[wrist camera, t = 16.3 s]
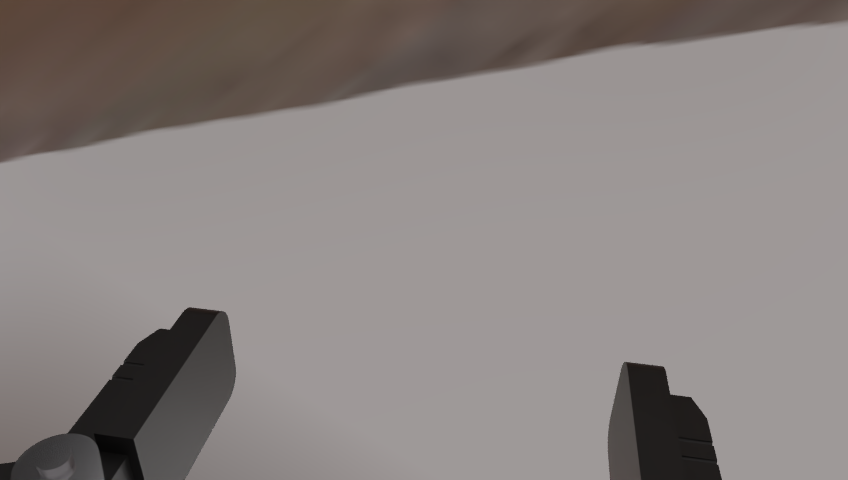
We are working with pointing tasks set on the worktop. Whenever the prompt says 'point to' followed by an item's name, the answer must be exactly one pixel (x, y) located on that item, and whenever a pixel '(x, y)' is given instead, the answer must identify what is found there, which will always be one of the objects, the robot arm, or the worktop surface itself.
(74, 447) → the robot arm
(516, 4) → the worktop surface
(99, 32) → the worktop surface
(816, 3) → the worktop surface
